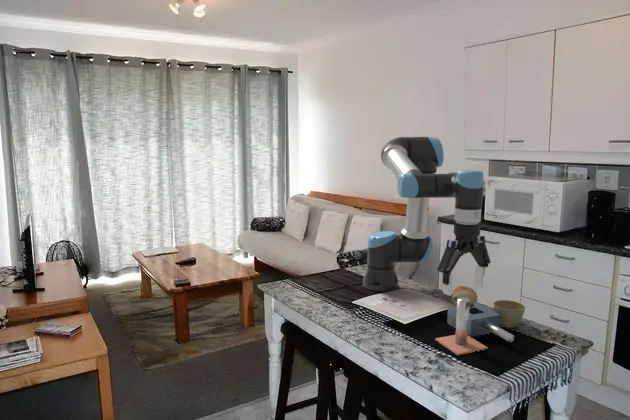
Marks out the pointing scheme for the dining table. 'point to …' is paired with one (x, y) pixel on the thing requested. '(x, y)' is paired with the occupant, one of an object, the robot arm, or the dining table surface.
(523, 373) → the dining table surface
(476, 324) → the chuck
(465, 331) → the key
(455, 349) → the mat
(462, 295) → the apple
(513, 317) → the beige bowl
